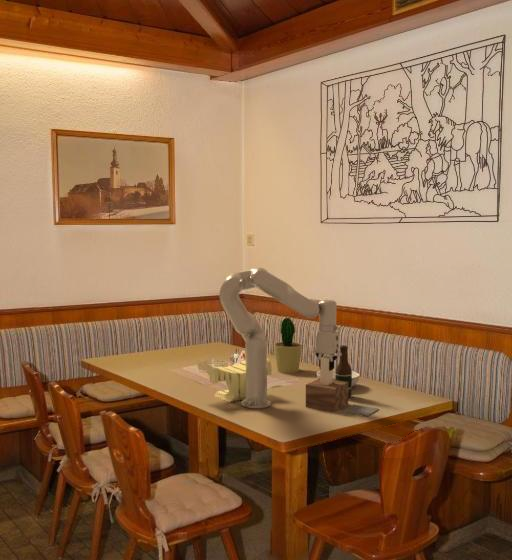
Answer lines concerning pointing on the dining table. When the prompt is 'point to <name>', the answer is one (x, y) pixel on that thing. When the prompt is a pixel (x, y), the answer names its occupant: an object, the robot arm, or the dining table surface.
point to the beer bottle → (344, 370)
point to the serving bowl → (354, 376)
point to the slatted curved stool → (230, 379)
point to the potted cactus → (287, 349)
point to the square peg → (325, 371)
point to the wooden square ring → (327, 395)
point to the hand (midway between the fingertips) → (326, 368)
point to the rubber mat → (360, 410)
